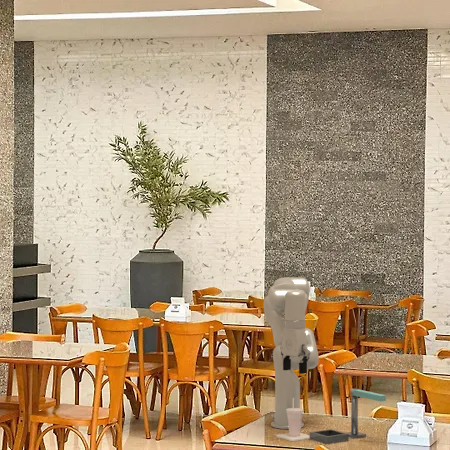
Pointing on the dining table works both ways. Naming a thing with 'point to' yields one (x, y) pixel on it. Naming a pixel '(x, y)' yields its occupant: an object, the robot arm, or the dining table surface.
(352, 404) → the post
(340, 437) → the dark grey square tray
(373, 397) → the teal bar
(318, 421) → the dining table surface
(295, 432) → the smoothie
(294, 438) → the coaster pad
